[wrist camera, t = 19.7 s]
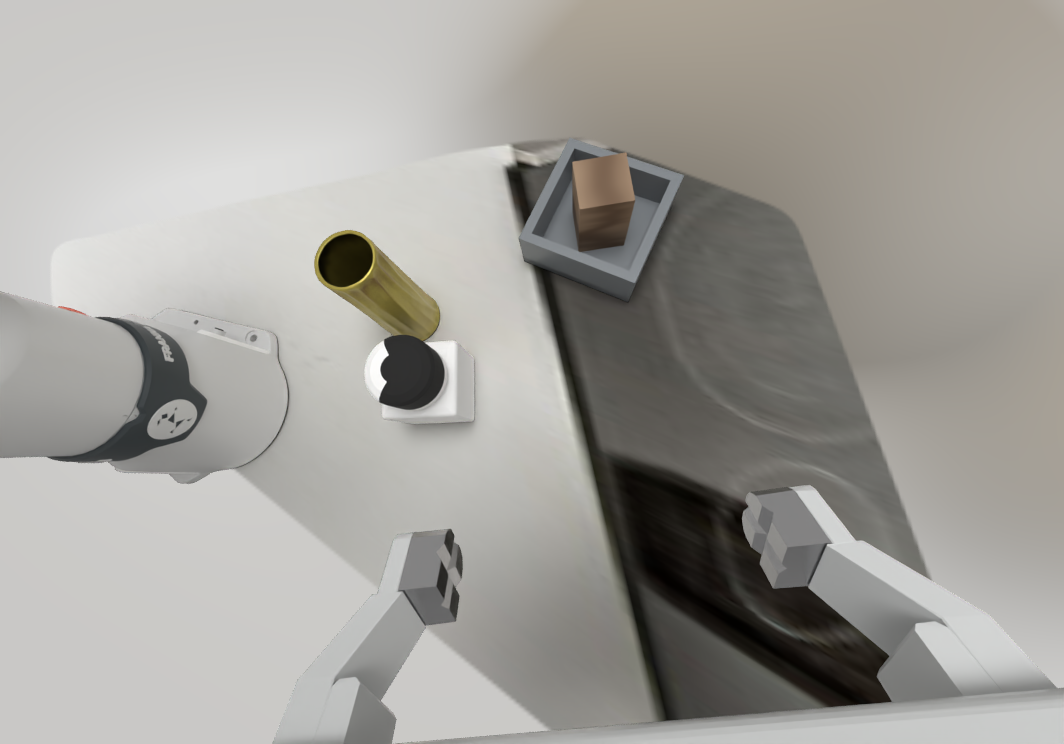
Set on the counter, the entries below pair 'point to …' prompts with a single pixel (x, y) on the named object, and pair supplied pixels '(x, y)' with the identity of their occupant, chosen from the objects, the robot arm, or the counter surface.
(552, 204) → the bin
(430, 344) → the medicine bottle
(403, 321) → the vase
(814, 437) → the counter surface
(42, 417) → the robot arm
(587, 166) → the block
